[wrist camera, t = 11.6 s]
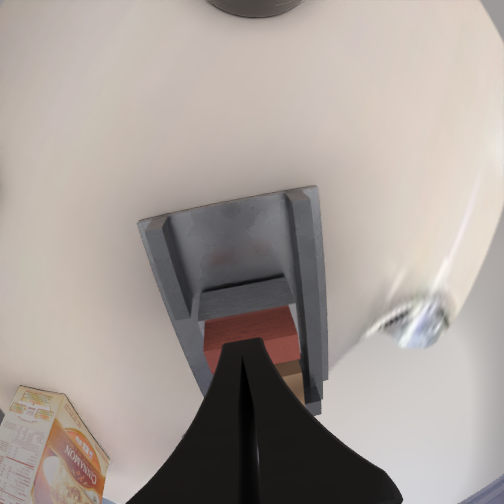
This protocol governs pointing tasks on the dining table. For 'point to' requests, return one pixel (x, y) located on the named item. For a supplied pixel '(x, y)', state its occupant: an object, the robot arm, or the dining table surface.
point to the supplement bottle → (255, 7)
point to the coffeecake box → (48, 453)
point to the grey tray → (244, 269)
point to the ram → (250, 319)
